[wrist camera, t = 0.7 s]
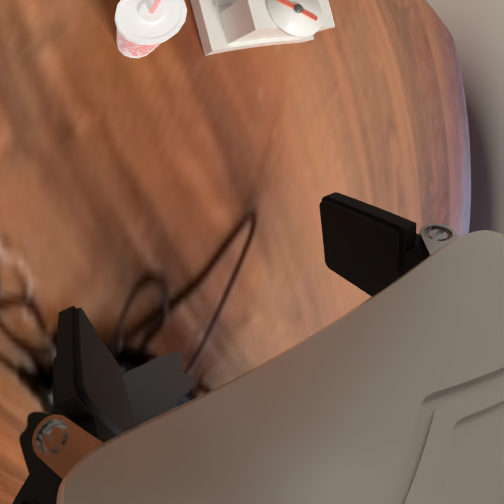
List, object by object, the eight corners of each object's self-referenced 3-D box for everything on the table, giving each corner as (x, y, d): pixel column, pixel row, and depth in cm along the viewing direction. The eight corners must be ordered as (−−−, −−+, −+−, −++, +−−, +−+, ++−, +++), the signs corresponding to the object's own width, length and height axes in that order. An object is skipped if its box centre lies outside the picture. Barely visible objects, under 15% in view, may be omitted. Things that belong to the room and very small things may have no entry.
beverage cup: (124, 74, 27) (143, 39, 16) (100, 32, 24) (106, -24, 12) (173, 48, 28) (221, 6, 17) (150, 7, 25) (185, -52, 13)
